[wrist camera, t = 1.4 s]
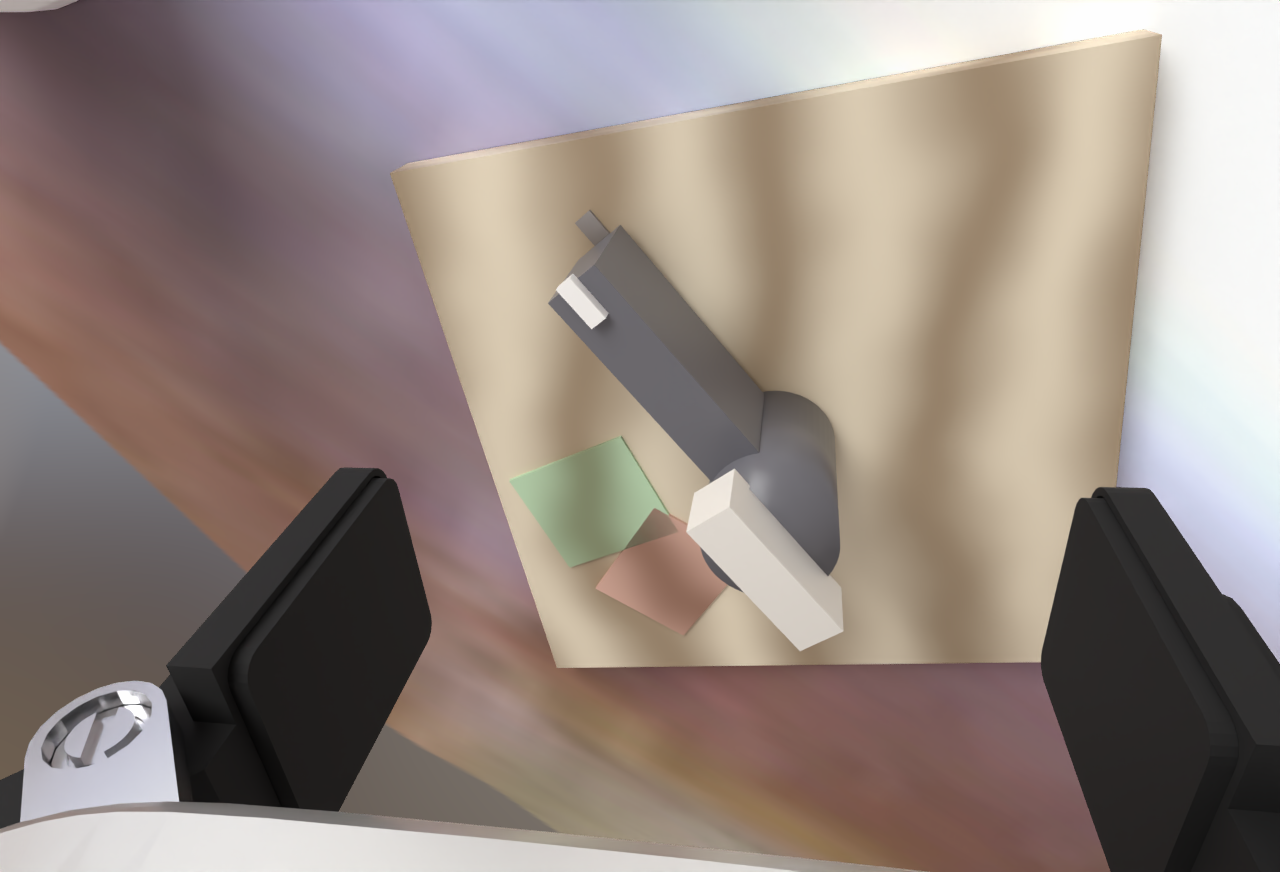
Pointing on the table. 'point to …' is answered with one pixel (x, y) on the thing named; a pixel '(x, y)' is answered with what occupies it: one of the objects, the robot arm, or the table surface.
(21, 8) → the decorative container
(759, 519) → the faucet
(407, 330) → the table surface
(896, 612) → the board
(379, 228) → the table surface
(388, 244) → the table surface
